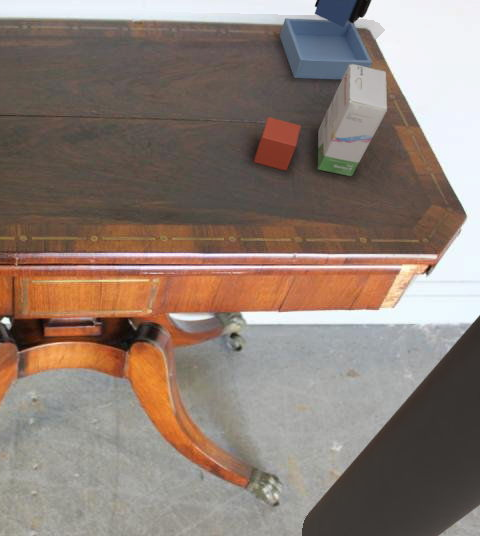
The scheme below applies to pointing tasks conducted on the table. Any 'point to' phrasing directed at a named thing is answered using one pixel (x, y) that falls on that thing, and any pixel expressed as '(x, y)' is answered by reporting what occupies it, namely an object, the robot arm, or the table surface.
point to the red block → (277, 143)
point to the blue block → (336, 10)
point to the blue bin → (322, 48)
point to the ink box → (352, 119)
